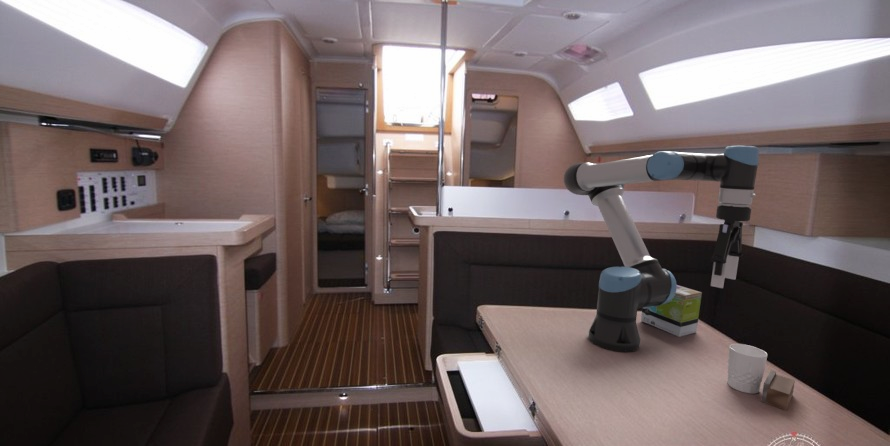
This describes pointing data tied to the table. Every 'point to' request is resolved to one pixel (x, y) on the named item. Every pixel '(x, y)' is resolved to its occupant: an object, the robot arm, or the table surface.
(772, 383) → the block
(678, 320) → the tea box
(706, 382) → the table surface
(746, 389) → the white cup
